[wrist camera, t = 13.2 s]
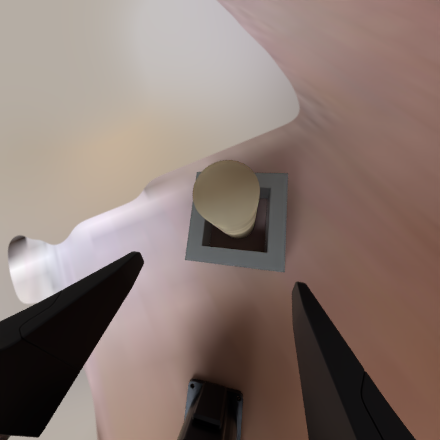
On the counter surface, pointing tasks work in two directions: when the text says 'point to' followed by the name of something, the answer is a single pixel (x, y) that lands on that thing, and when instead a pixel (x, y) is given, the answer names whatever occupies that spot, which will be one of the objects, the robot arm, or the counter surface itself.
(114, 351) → the counter surface
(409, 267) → the counter surface
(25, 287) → the counter surface
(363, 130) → the counter surface
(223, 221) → the birch peg
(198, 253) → the frame
